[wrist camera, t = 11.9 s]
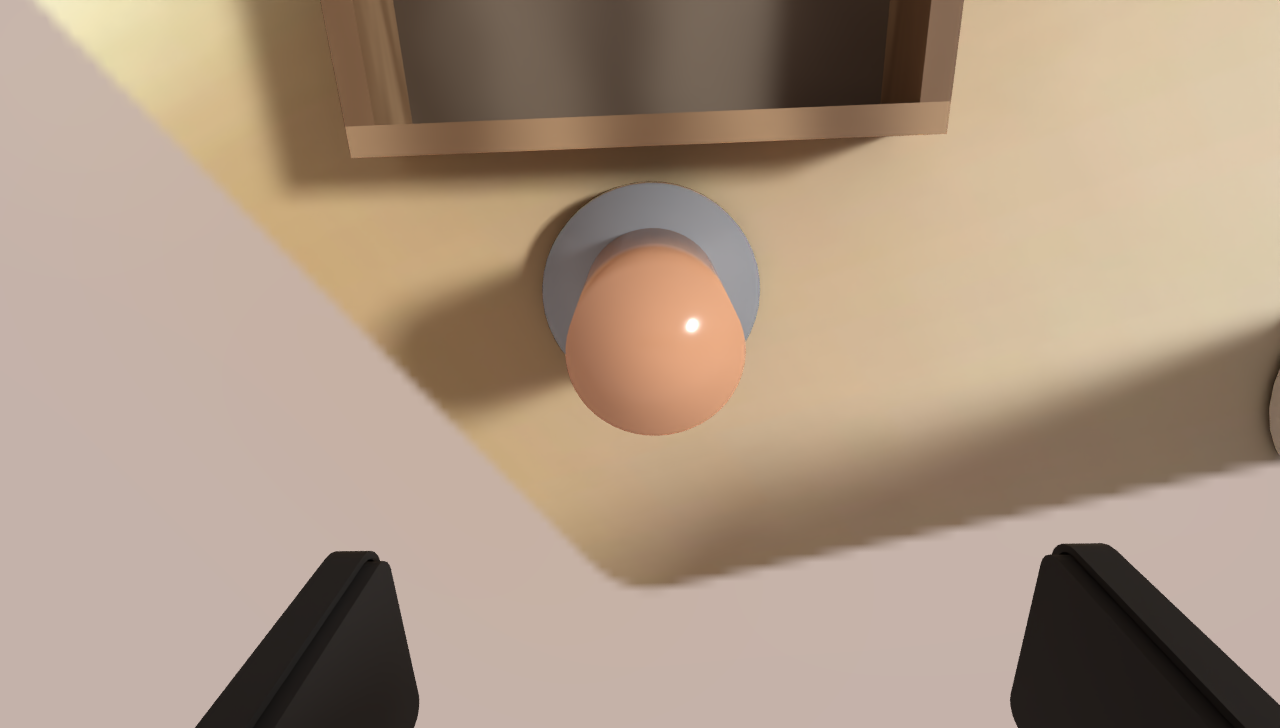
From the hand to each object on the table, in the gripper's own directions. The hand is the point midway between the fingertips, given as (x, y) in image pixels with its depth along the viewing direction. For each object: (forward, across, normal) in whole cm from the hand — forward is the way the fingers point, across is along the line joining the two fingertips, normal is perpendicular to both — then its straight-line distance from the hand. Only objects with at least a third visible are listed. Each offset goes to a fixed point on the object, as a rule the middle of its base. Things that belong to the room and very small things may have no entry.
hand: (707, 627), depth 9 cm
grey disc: (+19, +1, 0) cm, 19 cm away
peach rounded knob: (+18, +1, 0) cm, 18 cm away
